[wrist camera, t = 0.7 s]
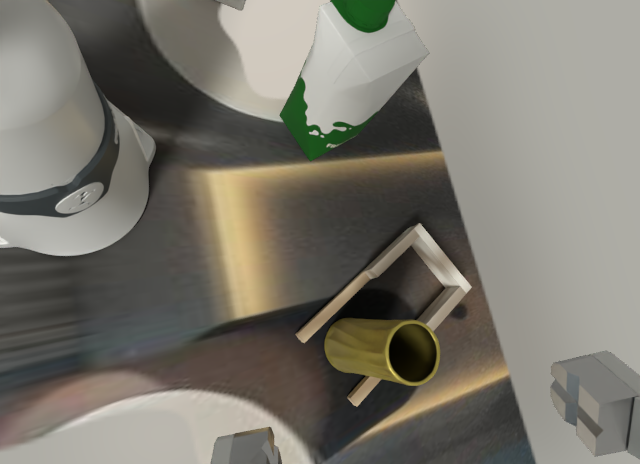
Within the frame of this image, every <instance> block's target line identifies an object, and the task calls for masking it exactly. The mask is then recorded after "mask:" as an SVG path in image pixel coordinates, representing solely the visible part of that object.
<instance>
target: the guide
mask: <svg viewBox="0 0 640 464" xmlns="http://www.w3.org/2000/svg"><path fill="white" fill-rule="evenodd" d="M410 245H411V246H412V247H413V249H414V250H415V251H416V252H417V254H418V255H419V256H420V257H421V258H422V260H423V261H424V262H425V263H426V265H427V266H428V267H429V268H430V270H431V271H432V272H433V273H434V275H435V276H436V277H437V278H438V279H439V281H440V282H441V283H442V284H443V286H444V287H445V289H444V290H443V292H442V293H441V294H440V295H439V296H438V297H437V298H436V299H435V300H434V301H433V303H432V304H431V305H430V306H429V307H428V308H427V309H426V310H425V311H424V312H423V314H422V315H421V316H420V317H419V318H418V319H417V321H420V322H422V323H424V324H426V325H427V326H429V327H430V328H431V330H432V331H434V330H435V329H436V328H437V326H438V325H439V324H440V323H441V322H442V321H443V320H444V318H445V317H446V316H447V315H448V314H449V313H450V312H451V310H452V309H453V308H454V307H455V306H456V305H457V303H458V302H459V301H460V300H461V299H462V298H463V297H464V295H465V294H466V293H467V292H468V291H469V290H470V289H471V286H470V285H469V283H468V282H467V281H466V280H465V278H464V277H463V276H462V275H461V273H460V272H459V271H458V270H457V268H456V267H455V266H454V265H453V263H452V262H451V261H450V260H449V259H448V257H447V256H446V255H445V254H444V252H443V251H442V250H441V249H440V247H439V246H438V245H437V244H436V242H435V241H434V240H433V239H432V237H431V236H430V235H429V234H428V232H427V231H426V230H425V229H424V228H423V226H422V225H421V224H420V223H419V224H417V225H415V226H412V227H410V228H408V229H407V230H406V231H404V232H403V233H402V234H401V235H400V236H399V237H398V238H397V239H396V240H395V241H394V242H393V243H392V244H391V245H390V246H389V247H387V248H386V249H385V250H384V251H383V252H382V253H381V254H380V255H379V256H378V257H377V258H376V259H375V260H374V261H373V262H371V263H370V264H369V265H368V266H367V267H366V268H365V269H364V270H363V271H362V272H361V273H360V274H359V275H358V276H357V277H356V278H354V279H353V280H352V281H351V282H350V283H349V284H348V285H347V286H346V287H345V288H344V289H343V290H342V291H341V292H340V293H339V294H337V295H336V296H335V297H334V298H333V299H332V300H331V301H330V302H329V303H328V304H327V305H326V306H325V307H324V308H323V309H321V310H320V311H319V312H318V313H317V314H316V315H315V316H314V317H313V318H312V319H311V320H310V321H309V322H308V323H307V324H306V325H304V326H303V327H302V328H301V329H300V330H299V331H298V332H297V333H296V334H295V335H296V336H297V337H298V338H299V339H300V341H301V342H303V343H305V342H306V341H307V340H308V339H309V338H310V337H311V336H312V335H313V334H314V333H315V332H316V331H317V330H318V329H319V328H320V327H321V326H322V325H323V324H324V323H325V322H326V321H327V320H329V319H330V318H331V317H332V316H333V315H334V314H335V313H336V312H337V311H338V310H339V309H340V308H341V307H342V306H343V305H344V304H345V303H346V302H347V301H348V300H349V299H350V298H351V297H352V296H353V295H354V294H356V293H357V292H358V291H359V290H360V289H361V288H362V287H363V286H364V285H365V284H366V283H367V282H368V281H369V280H370V279H373V278H376V277H379V276H380V275H381V274H382V273H383V272H384V271H385V270H386V269H387V268H388V267H389V266H390V265H391V264H392V263H393V262H394V261H395V260H396V259H397V258H398V257H399V256H400V255H401V254H402V253H403V252H404V251H405V250H406V249H407V248H408V247H409V246H410ZM380 380H381V379H380V378H375V377H370V376H365V377H364V379H363V380H362V381H361V382H360V383H359V384H358V385H357V386H356V387H355V388H354V390H353V391H352V392H351V393H350V394H349V395H348V396H347V398H348V399H349V400H350V401H351V403H352V404H353V405H354V406H358V405H359V404H360V403H361V402H362V401H363V399H364V398H365V397H366V396H367V395H368V394H369V393H370V392H371V390H372V389H373V388H374V387H375V386H376V385H377V384H378V382H379V381H380Z"/></svg>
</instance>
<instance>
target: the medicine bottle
mask: <svg viewBox="0 0 640 464" xmlns="http://www.w3.org/2000/svg"><path fill="white" fill-rule="evenodd" d="M216 1H218V2H221V3H223V4H225V5H228V6H230V7H233V8H235V9H238V10H242V9H243V7H244V4H245V1H246V0H216Z"/></svg>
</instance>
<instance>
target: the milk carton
mask: <svg viewBox="0 0 640 464" xmlns="http://www.w3.org/2000/svg"><path fill="white" fill-rule="evenodd" d="M428 54H429V51H428V50H427V48H426V47H425V45H424V44H423V43H422V41H421V39H420V38H419V36H418V35H417V34H416V32H415V27H414V26H413V24H412V23H411V21H410V20H409V19H408V18H407V17H406V15H405V14H404V12H403V11H402V10H401V8H400V7H399V5H398V4H397V2H396V1H395V0H331V1H330V2H329V3H326V4H323V5H321V6H319V12H318V18H317V25H316V31H315V37H314V43H313V45H312V47H311V50H310V52H309V54H308V57H307V59H306V61H305V63H304V66H303V68H302V70H301V73H300V75H299V77H298V80H297V82H296V84H295V87H294V89H293V91H292V92H291V94H290V96H289V98H288V100H287V102H286V104H285V106H284V108H283V110H282V111H281V113H280V117H281V118H282V120H283V121H284V123H285V124H286V126H287V127H288V129H289V130H290V132H291V133H292V135H293V136H294V138H295V139H296V141H297V142H298V144H299V145H300V147H301V148H302V150H303V151H304V153H305V154H306V156H307V157H308V159H309V160H310V161H312V160H314V159H316V158H317V157H319V156H321V155H323V154H325V153H326V152H328V151H330V150H332V149H334V148H335V147H337V146H339V145H341V144H343V143H344V142H346V141H348V140H350V139H352V138H353V137H355V136H356V135H358V134H359V133H360V132H361V131H362V130H363V128H364V127H365V126H366V125H367V124H368V123H369V122H370V120H371V119H372V118H373V117H374V116H375V115H376V114H377V112H378V111H379V110H380V109H381V108H382V107H383V106H384V104H385V103H386V102H387V101H388V100H389V99H390V97H391V96H392V95H393V94H394V93H395V92H396V91H397V89H398V88H399V87H400V86H401V85H402V84H403V82H404V81H405V80H406V79H407V78H408V77H409V76H410V74H411V73H412V72H413V71H414V70H415V69H416V68H417V67H418V65H419V64H420V63H421V62H422V61H423V60H424V59H425V57H426V56H427V55H428Z"/></svg>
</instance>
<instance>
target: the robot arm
mask: <svg viewBox="0 0 640 464" xmlns="http://www.w3.org/2000/svg"><path fill="white" fill-rule="evenodd" d="M155 151H156V144H155V142H154V140H153V138H152V137H151V136H150V135H149V134H148V133H146V132H145V131H144V130H143V129H142V128H140V127H139V126H138V125H137V124H136V123H134V122H133V121H132V120H131V119H130V118H129V117H128V116H126V115H125V114H124V113H122V112H121V111H120V110H119V109H118V108H116V107H115V106H114V105H113V104H112V103H111V102H109V101H108V100H107V98H106V97H105V95H104V94H103V93H102V91H101V90H100V88H99V87H98V85H97V84H96V83H95V82H94V81H93V80H92V79H91V76H90V74H89V71H88V69H87V66H86V64H85V61H84V59H83V56H82V54H81V51H80V49H79V47H78V44H77V42H76V39H75V37H74V35H73V33H72V31H71V29H70V27H69V26H68V24H67V23H66V21H65V20H64V19H63V18H62V16H61V15H60V14H59V13H58V11H57V10H56V9H55V8H54V7H53V6H52V5H51V4H50V3H49V2H48V1H47V0H0V248H8V247H21V248H26V249H29V250H33V251H36V252H40V253H44V254H49V255H58V256H73V255H81V254H87V253H91V252H94V251H97V250H100V249H103V248H105V247H107V246H109V245H111V244H113V243H114V242H116V241H118V240H119V239H121V238H122V237H123V236H124V235H126V234H127V233H128V232H129V231H130V230H131V229H132V228H133V227H134V225H135V224H136V223H137V222H138V220H139V219H140V217H141V215H142V213H143V211H144V209H145V206H146V203H147V200H148V194H149V178H148V171H149V166H150V164H151V162H152V160H153V157H154V155H155ZM551 375H552V376H553V377H554V378H555V381H554V382H553V383H552V385H551V387H550V391H551V392H550V393H551V398H552V401H553V404H554V406H555V408H556V410H557V412H558V413H559V414H560V416H561V417H562V418H563V419H564V421H566V422H568V423H570V424H572V425H574V426H576V435H577V436H578V437H579V438H580V440H581V441H582V442H583V443H584V444H585V445H586V447H587V448H588V449H589V450H590V451H591V453H592V454H593V455H594V456H601V455H606V454H611V453H616V452H621V451H626V450H628V453H630V454H631V455H633V456H635V457H637V458H638V459H640V375H639V374H637V373H636V372H635V371H634V370H632V369H631V368H629V366H627V365H626V364H625V363H624V362H622V361H621V360H620V359H619V358H617V357H616V356H615V355H614V354H612V353H611V352H608V351H602V352H598V353H594V354H589V355H585V356H580V357H576V358H572V359H568V360H564V361H559V362H555V363H553V364H552V366H551ZM211 464H282V460H281V456H280V452H279V449H278V447H277V446H275V445H274V434H273V431H272V429H271V427H266V428H261V429H256V430H251V431H246V432H240V433H235V434H232V435H227V436H222V437H218V438H217V440H216V442H215V444H214V449H213V454H212V459H211Z"/></svg>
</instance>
